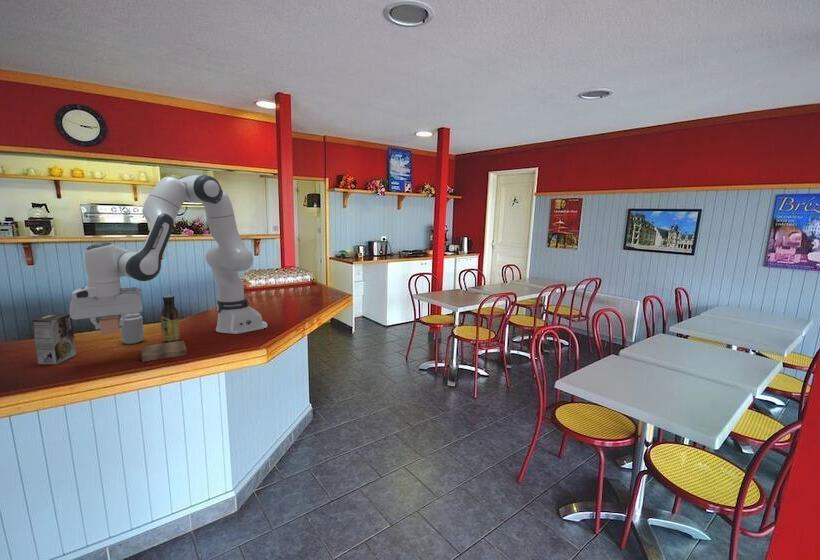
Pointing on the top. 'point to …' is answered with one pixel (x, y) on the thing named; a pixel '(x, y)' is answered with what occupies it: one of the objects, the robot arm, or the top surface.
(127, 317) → the can
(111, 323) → the cube
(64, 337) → the coffee box
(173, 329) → the sauce bottle
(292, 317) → the top surface
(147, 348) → the serving board
